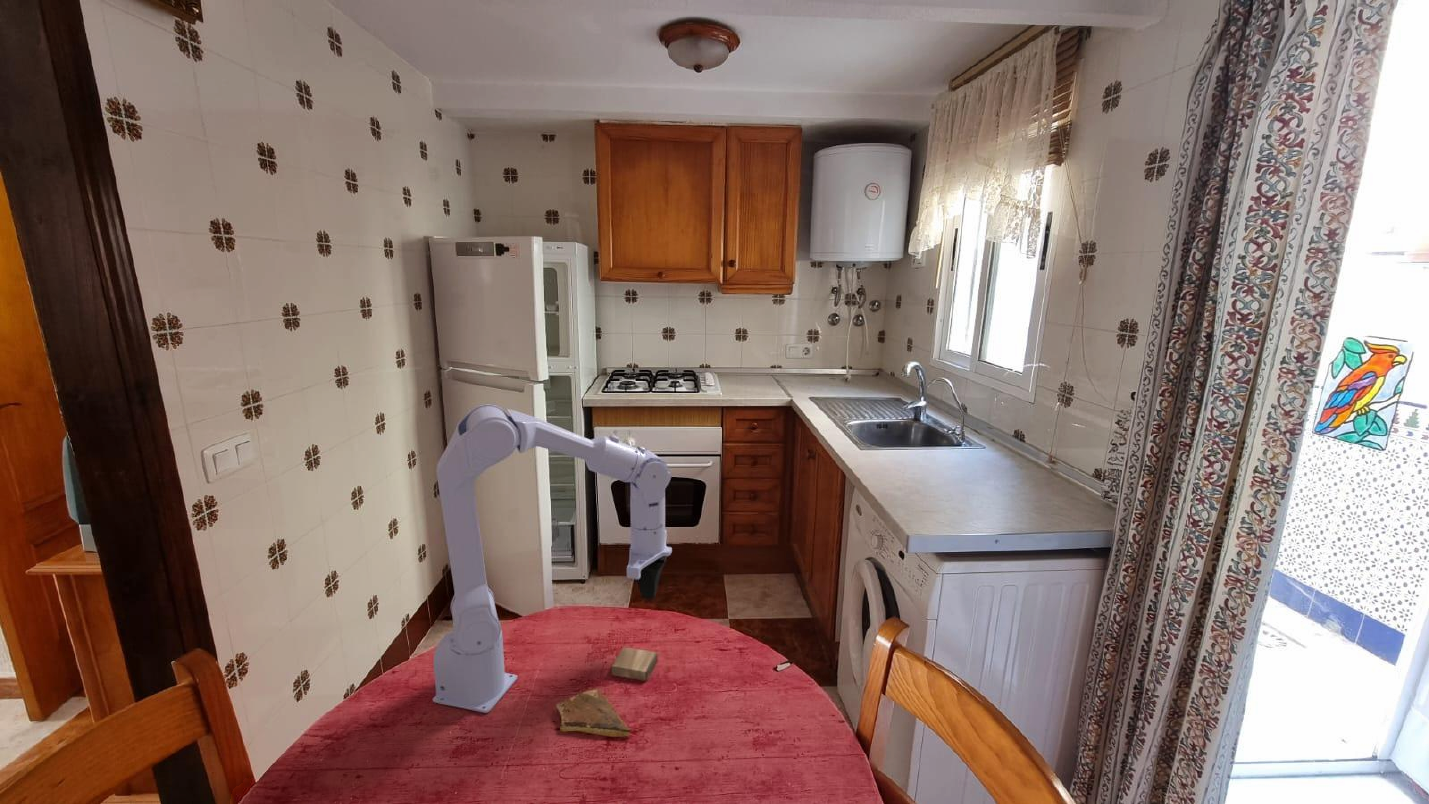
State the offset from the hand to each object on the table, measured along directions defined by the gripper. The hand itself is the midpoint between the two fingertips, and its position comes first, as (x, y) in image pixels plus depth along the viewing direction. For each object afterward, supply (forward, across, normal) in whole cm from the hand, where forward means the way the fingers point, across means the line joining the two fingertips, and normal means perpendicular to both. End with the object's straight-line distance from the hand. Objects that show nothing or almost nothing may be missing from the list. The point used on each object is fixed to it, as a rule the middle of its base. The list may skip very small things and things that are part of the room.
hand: (648, 596), depth 98 cm
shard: (+10, -18, +2) cm, 20 cm away
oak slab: (+8, -6, +3) cm, 11 cm away
